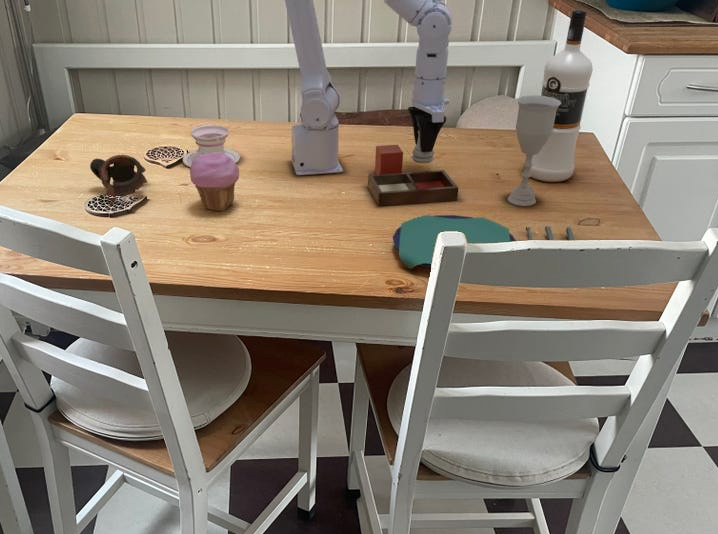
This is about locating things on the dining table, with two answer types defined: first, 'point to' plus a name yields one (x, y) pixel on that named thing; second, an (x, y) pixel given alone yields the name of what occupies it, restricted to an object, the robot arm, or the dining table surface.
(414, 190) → the tray
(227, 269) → the dining table surface
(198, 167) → the cupcake
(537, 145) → the chalice
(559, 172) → the vodka
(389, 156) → the brick-red block
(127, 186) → the pottery mug
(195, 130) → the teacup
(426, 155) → the rook chess piece
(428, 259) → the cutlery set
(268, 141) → the dining table surface
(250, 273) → the dining table surface
